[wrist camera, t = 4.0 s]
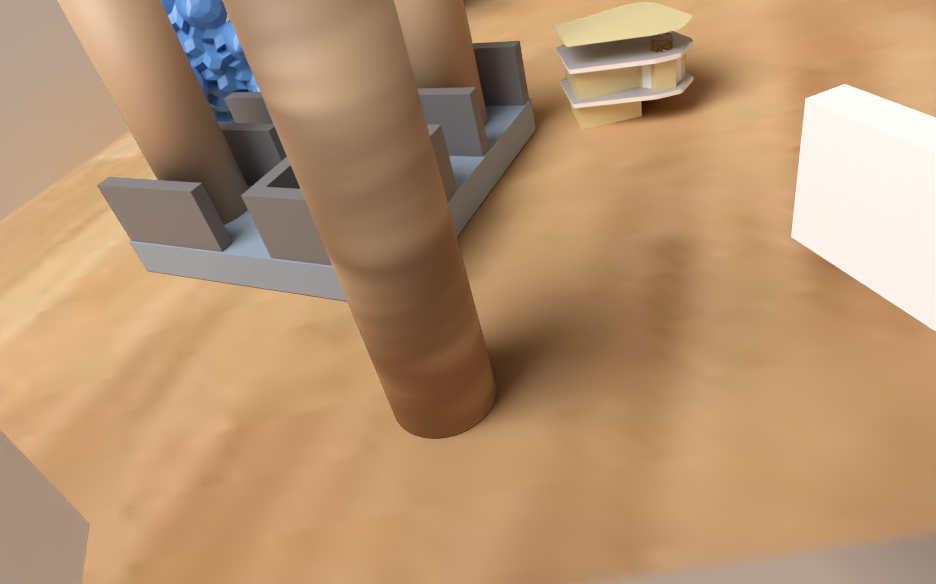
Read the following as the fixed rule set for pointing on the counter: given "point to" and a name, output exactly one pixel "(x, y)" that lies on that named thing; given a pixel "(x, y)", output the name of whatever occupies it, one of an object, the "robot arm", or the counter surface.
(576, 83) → the tiered building model
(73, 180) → the counter surface
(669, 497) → the counter surface
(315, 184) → the loose leg
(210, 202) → the stool
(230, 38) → the grapes
